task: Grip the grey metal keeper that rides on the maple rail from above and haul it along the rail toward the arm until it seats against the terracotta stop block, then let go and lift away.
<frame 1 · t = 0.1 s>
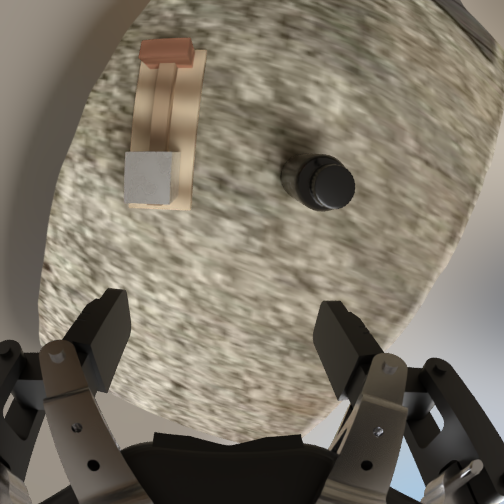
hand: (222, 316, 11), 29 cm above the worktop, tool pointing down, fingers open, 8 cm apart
keeper: (153, 175, 31), point 5 cm above the worktop, slide at 0.0 cm
rail: (165, 126, 33), on the worktop
supplement bottle: (303, 176, 38), on the worktop
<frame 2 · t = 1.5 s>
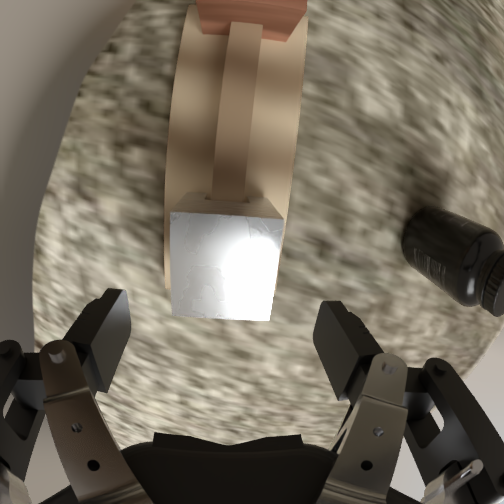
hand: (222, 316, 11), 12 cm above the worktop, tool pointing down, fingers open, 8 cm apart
keeper: (223, 250, 17), point 5 cm above the worktop, slide at 0.0 cm
rail: (231, 144, 19), on the worktop
supplement bottle: (424, 235, 24), on the worktop
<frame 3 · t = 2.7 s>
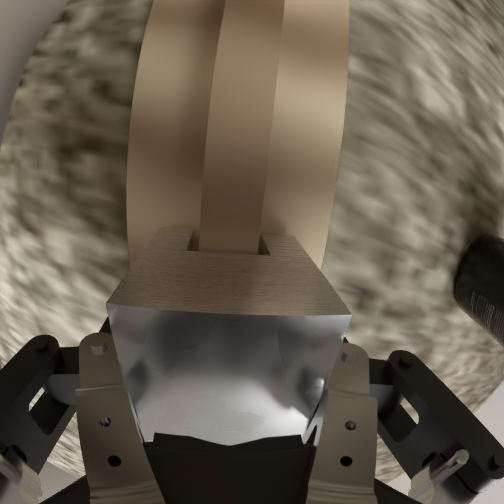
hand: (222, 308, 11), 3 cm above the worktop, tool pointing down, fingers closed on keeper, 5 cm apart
keeper: (223, 335, 9), point 5 cm above the worktop, slide at 0.0 cm, touching gripper
rail: (234, 146, 12), on the worktop
supplement bottle: (476, 269, 16), on the worktop
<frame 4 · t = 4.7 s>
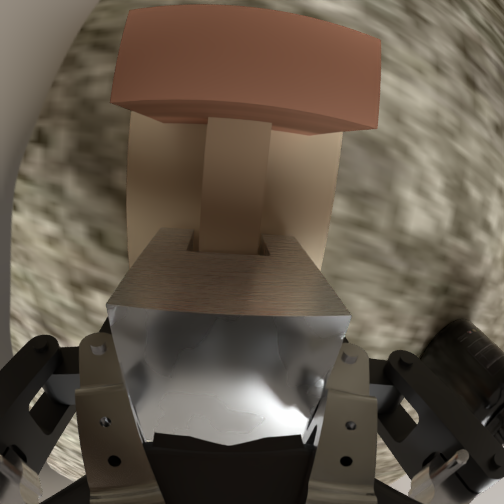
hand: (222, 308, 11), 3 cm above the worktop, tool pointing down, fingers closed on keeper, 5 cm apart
keeper: (223, 336, 9), point 5 cm above the worktop, slide at 7.7 cm, touching gripper
rail: (222, 296, 14), on the worktop
supplement bottle: (444, 345, 19), on the worktop
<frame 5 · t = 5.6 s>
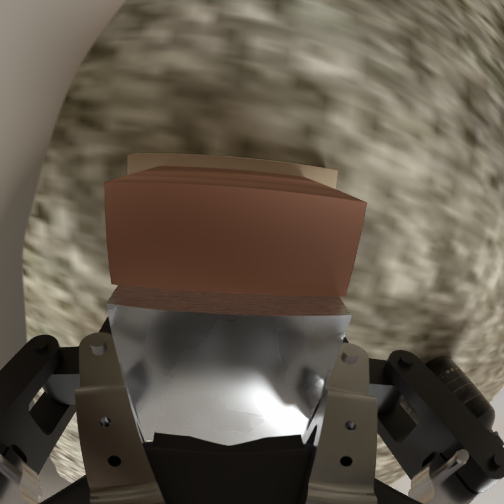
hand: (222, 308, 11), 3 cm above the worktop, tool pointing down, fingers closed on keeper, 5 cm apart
keeper: (223, 335, 9), point 5 cm above the worktop, slide at 12.0 cm, touching gripper, rail
rail: (219, 354, 16), on the worktop
supplement bottle: (425, 378, 21), on the worktop
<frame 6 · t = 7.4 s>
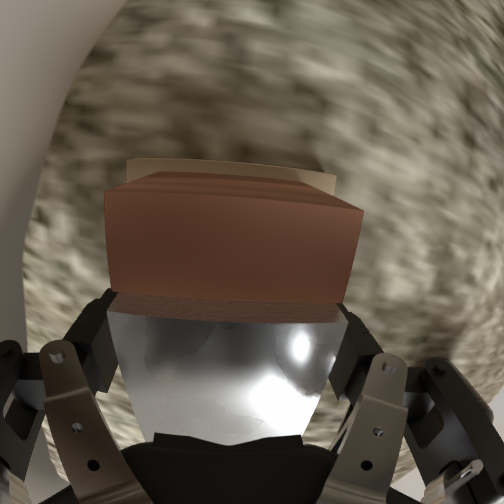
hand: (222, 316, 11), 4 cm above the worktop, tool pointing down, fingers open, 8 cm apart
keeper: (222, 340, 10), point 5 cm above the worktop, slide at 12.0 cm, touching rail
rail: (218, 357, 16), on the worktop
supplement bottle: (423, 380, 21), on the worktop
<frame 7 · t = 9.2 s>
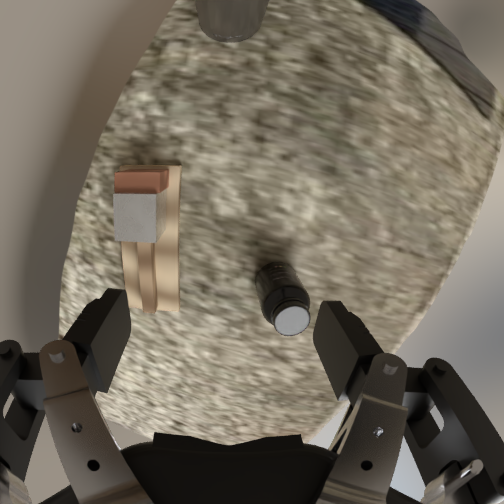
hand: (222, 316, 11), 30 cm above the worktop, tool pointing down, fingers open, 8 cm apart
keeper: (141, 212, 33), point 5 cm above the worktop, slide at 12.0 cm, touching rail
rail: (151, 240, 40), on the worktop
supplement bottle: (275, 279, 44), on the worktop
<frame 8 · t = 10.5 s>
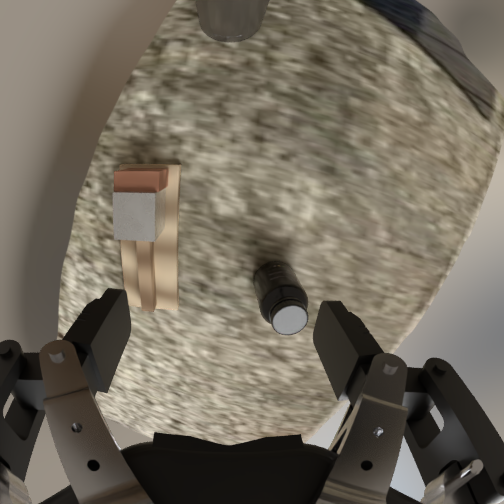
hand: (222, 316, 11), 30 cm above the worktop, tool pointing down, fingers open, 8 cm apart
keeper: (140, 211, 33), point 5 cm above the worktop, slide at 12.0 cm, touching rail
rail: (150, 239, 40), on the worktop
supplement bottle: (274, 278, 44), on the worktop
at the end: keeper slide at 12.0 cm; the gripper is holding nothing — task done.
